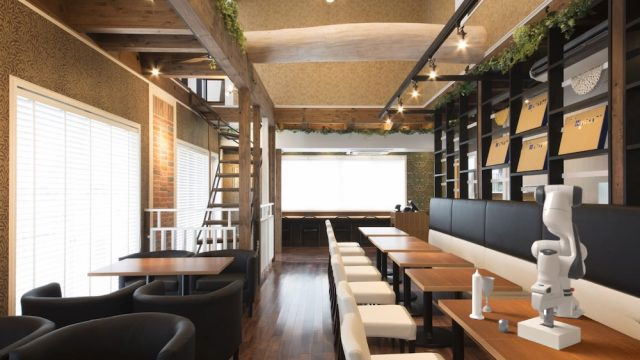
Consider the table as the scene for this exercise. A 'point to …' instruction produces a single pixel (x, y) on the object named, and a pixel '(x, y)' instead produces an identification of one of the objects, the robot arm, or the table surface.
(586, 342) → the table surface
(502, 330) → the short pin
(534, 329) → the hole block
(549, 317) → the long pin
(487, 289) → the chalice
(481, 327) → the table surface
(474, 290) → the candle
